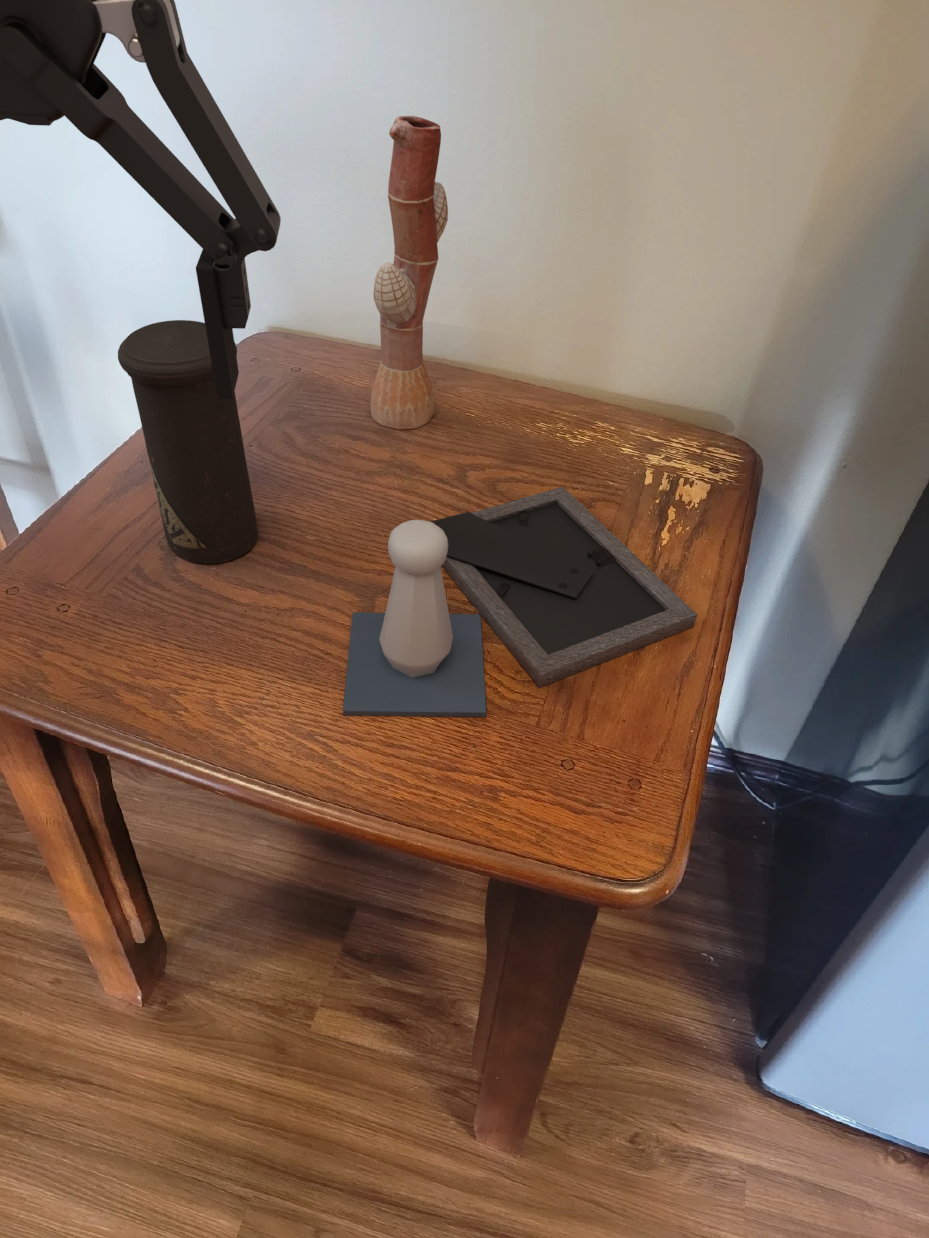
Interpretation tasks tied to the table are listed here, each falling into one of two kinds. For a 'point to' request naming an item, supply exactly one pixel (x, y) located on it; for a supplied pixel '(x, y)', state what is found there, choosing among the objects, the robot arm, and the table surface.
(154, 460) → the container
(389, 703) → the mat
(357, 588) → the table surface
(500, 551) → the picture frame
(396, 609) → the salt shaker
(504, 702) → the table surface
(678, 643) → the table surface
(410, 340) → the vase
